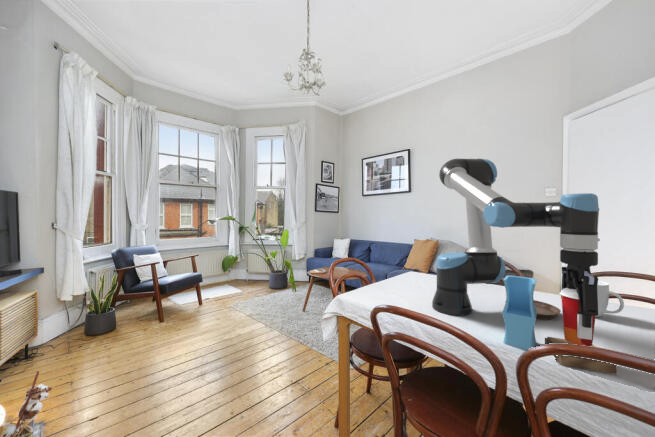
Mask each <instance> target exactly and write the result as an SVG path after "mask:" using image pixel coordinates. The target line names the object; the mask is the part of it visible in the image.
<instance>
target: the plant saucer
mask: <svg viewBox="0 0 655 437" xmlns="http://www.w3.org/2000/svg"><path fill="white" fill-rule="evenodd" d="M533 300H534V299H533ZM505 303H506V300H505ZM534 304H535V307H536V310H537V315H536V320H552V319H554V318H556V317H557V316H558V315H560V314H561V311H562V310H561V309H560V308H559V307H557V306H555V305H554V304H550V303H547V302H544V301H539V300H536V299H535V300H534Z"/></svg>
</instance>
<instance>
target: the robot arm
mask: <svg viewBox="0 0 655 437" xmlns="http://www.w3.org/2000/svg"><path fill="white" fill-rule="evenodd" d="M497 176H498V168H497V166H496V164H495V163H494V162H493V161H491V160H489V159H485V158H453V159H450V160H447V161H446V162H445V163H444V164H443V165H442V166H441V167H440V169H439V174H438V177H439V180H440V182H441V184H443V185H444V186H445V187H446V188H447V189H449V190H450V189H451V190H454V191H455V192H456V193H458V194H459V195H461V196H462V197H463V198H464V199H465V204H466V206H465V208H466V222H467V235H468V248H467V249H466V251H465V252H460V251H459V252H458V251H457V252H452V251H451V252H445V253H441V254H439V255H438V256H437V258H436V266H435V267H436V291H435V292H434V295H433V298H432V302H431V304H432V306H431V307H432V309H434V310H436V311H438V312H439V313H442V314H446V315H449V316H450V315H451V316H452V315H453V316H467V315H470V314H472V313H473V306H472V303H471V299H470V297H469V294H468V285H475V284H476V285H478V284H480V285H481V284H486V285H489V284H494V283H498V282H501V280H502V279H504V278H505V274H506V263H505V261H504V259H503V258H502V257H501V256H499V255H498V251H497V250H496V249H495V248H494V247H493V241H492V240H493V239H492V238H493V237H492V229H491V228H492V227H493V228H515V227H516V228H521V227H522V228H524V227H525V228H528V227H529V228H530V227H531V228H532V227H533V228H536V227H537V228H538V227H539V228H540V227H543V228H545V227H546V228H548V227H549V228H560V232H559V233H560V234H559V247H560V248H562V249H560V251H559V262H561V263H562V264H567V266H561V274H562V275H561V288H560V289H561V290H562V289H563V288H568V289H576V291H577V294H578V298H579V299H578V304H579V311H580V312H576V313H577V337H578V338H582V339H589V340H592V316H594V315H595V316H598V295H597V284H598V281H599V277H598V276H596V275H595V276H594V275H592V272H591V267H594V266H598V265H599V252H597V250H598V248H599V247H598V246H599V242H600V241H601V240H600V238H599V232H598V230H599V229H598V228H599V215H600V214H599V213H600V208H599V207H600V206H599V196H598V195H597V194H595V193H591V192H590V193H586V192H585V193H568V194H562V195H561V196H560V200H559V201H557V202H556V201H555V202H549V201H548V202H513V201H512V200H509V199H507V198H506V197H504V196H503V195H501V194H500V193H498V192H496V191H495V190H493V189H492V185H494V183H495V182H496V178H497ZM561 290H560V291H561ZM560 298H561V300H562V297H561V296H560Z"/></svg>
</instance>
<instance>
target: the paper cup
mask: <svg viewBox="0 0 655 437" xmlns="http://www.w3.org/2000/svg"><path fill="white" fill-rule="evenodd" d="M561 289H562V288H561ZM558 294H559V295H560V298H561V297H562V299H561V309H562V310H561V311H562V324H563V335H564V336H563V337H564V339H565V340H567V341H568V342H570V343H573V344H577V345H585V346H592V344H593V341H594V333H595V325H596V324H595V323H596V317H595V315H594V316H592V340H589V339H582V338H578V337H577V313H576V312H580V311H579V304H578V299H579V298H578V294H577V291H576V289H568V288H563V289H562V290H560V292H559V293H558Z"/></svg>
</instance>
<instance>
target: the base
mask: <svg viewBox="0 0 655 437" xmlns="http://www.w3.org/2000/svg"><path fill="white" fill-rule="evenodd" d="M549 343H568V344H573V343H570V342H568V341H567V340H565V338H560V337H552V336H546V337H544V345H545V344H549ZM592 347H596V346H595V345H594V344H593V343H592ZM552 356H553V357H554V359H556V361H557V362H558V363H559V364H560V365H561V366H566V367H571V368H577V369H578V368H579V369H583V370H589V371H596V372H601V373H607V374H613V375H617V364H616V365H614V364H610V363H606V362H601V361H597V360H592V359H587V358H581V357H574V356H563V355H558V356H556V355H552Z"/></svg>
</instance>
